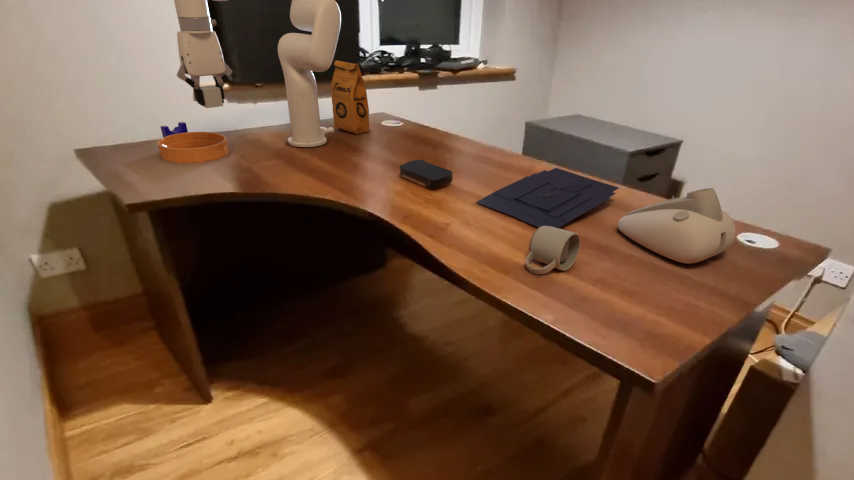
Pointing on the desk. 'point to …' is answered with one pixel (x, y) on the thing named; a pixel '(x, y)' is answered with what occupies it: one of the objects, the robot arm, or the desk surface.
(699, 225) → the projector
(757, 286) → the desk surface
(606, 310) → the desk surface
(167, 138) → the bowl
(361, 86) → the coffee package
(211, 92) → the block
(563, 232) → the ceramic mug
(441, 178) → the black sponge
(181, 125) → the cable holder
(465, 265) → the desk surface
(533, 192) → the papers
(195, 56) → the robot arm
